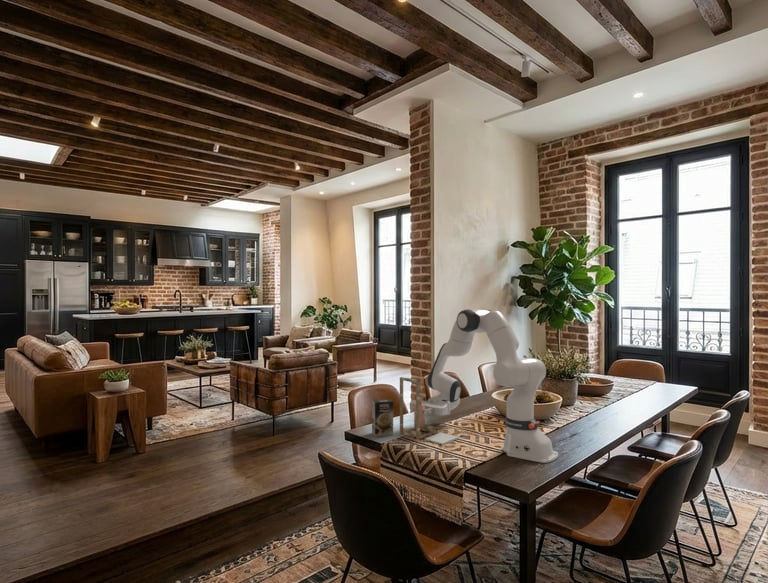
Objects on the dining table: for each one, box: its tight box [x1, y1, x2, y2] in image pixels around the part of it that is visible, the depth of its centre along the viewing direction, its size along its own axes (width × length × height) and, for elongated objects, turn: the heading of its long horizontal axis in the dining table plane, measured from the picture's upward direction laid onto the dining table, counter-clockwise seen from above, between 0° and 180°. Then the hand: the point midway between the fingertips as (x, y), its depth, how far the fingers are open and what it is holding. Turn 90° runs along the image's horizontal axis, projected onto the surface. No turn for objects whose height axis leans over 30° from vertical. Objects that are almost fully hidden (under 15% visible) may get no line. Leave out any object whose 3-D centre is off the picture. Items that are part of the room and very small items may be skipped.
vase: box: [413, 397, 426, 430], centre depth 221 cm, size 5×5×14 cm
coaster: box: [424, 432, 459, 446], centre depth 212 cm, size 10×12×1 cm
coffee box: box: [371, 398, 394, 438], centre depth 220 cm, size 9×6×16 cm
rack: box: [399, 376, 437, 440], centre depth 221 cm, size 11×14×27 cm
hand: (418, 410), depth 221 cm, fingers closed on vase, 5 cm apart
